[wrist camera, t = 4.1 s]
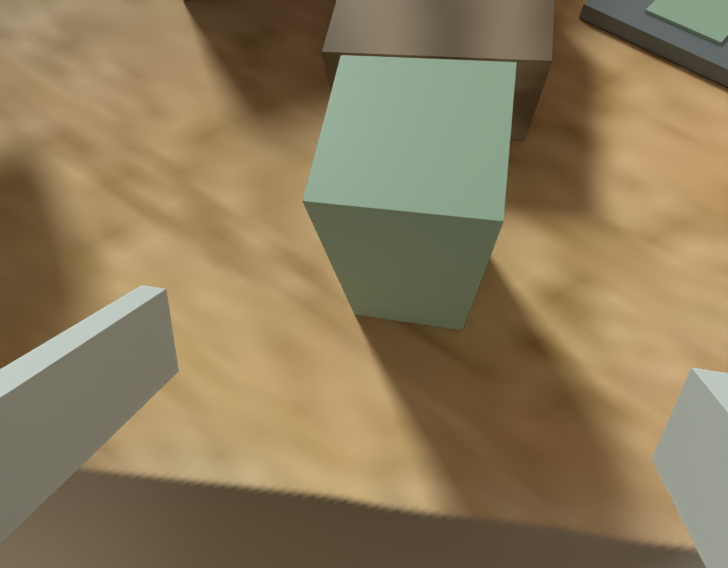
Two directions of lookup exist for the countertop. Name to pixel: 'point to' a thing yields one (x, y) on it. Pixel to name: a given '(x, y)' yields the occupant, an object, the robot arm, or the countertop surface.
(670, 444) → the robot arm
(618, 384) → the countertop surface
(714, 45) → the tile
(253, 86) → the countertop surface
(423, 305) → the sage block
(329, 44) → the walnut block
